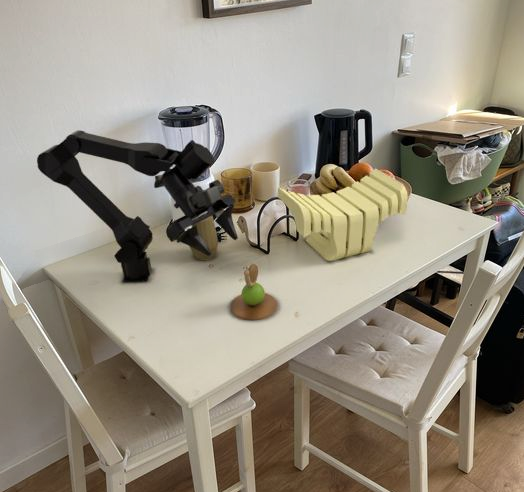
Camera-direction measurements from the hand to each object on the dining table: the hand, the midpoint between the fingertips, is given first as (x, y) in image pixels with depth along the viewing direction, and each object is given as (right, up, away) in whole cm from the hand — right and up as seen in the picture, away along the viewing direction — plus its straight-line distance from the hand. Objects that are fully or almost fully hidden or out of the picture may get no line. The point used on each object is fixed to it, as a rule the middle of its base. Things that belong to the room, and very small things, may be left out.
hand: (223, 247), depth 119 cm
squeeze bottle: (-7, 0, +25) cm, 26 cm away
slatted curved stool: (+31, +2, +26) cm, 40 cm away
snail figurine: (+7, -13, +3) cm, 15 cm away
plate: (+7, -14, +3) cm, 16 cm away
